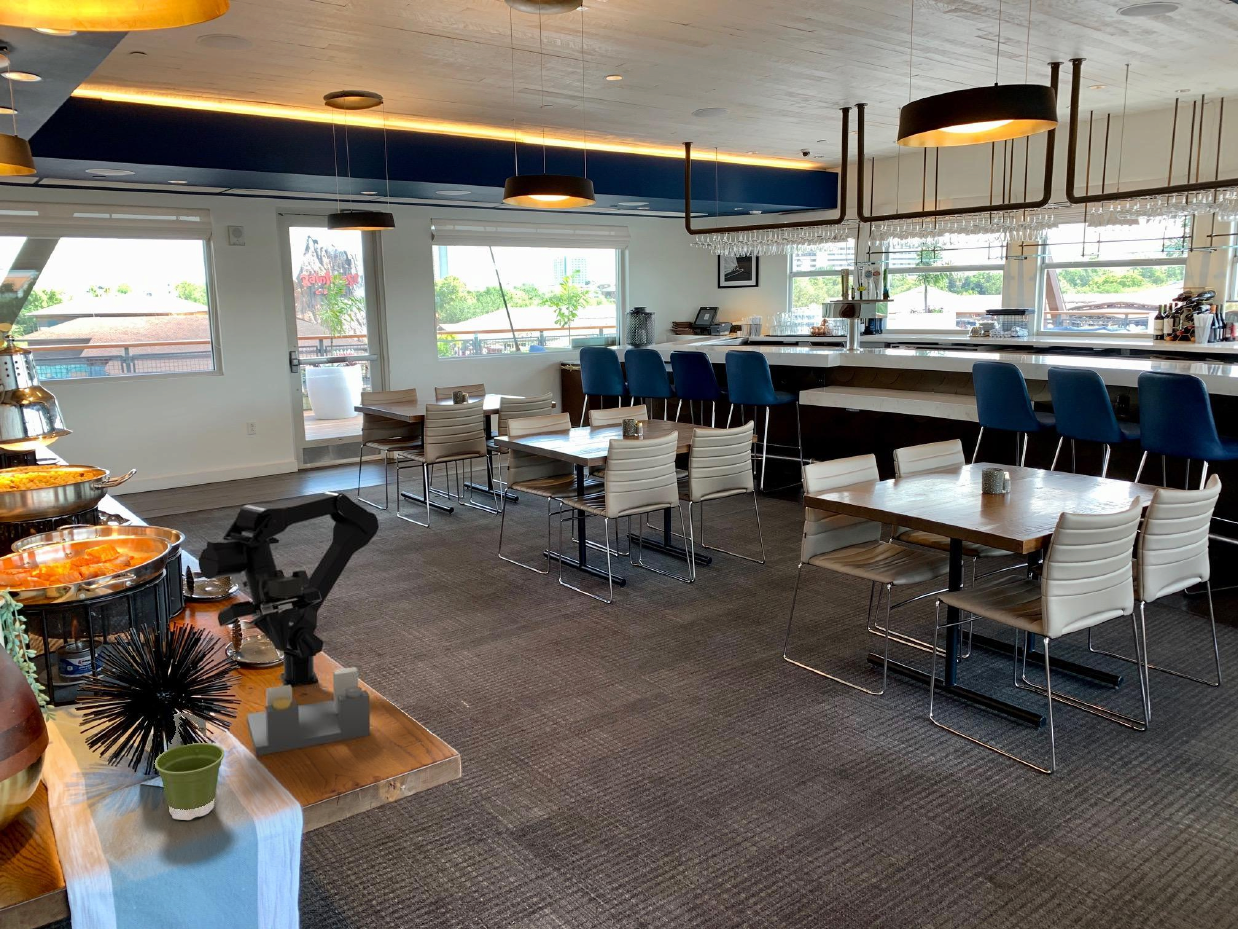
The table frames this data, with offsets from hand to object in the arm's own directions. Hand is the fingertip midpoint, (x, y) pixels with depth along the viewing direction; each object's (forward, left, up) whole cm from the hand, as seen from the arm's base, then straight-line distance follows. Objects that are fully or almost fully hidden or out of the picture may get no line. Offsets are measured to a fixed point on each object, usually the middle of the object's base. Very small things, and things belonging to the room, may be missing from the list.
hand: (283, 650), depth 170 cm
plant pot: (+31, -18, -12) cm, 37 cm away
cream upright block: (+9, +9, -10) cm, 16 cm away
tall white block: (+13, -3, -10) cm, 16 cm away
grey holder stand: (+10, +2, -12) cm, 15 cm away
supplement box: (+19, -20, -12) cm, 30 cm away
